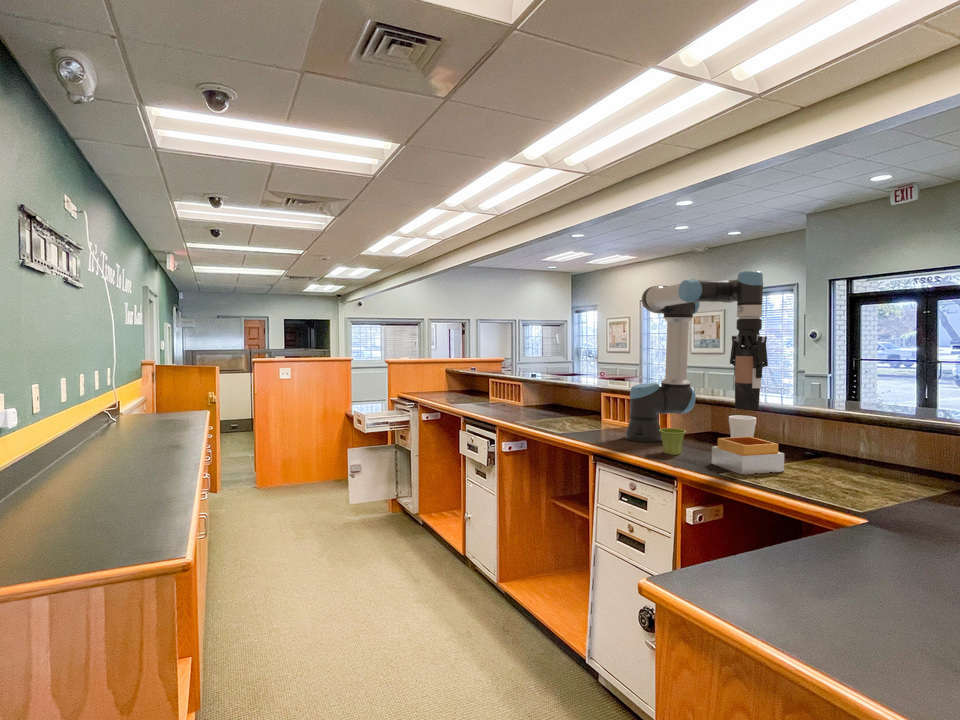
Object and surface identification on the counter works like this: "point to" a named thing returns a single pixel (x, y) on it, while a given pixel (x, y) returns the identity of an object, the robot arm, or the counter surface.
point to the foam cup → (742, 426)
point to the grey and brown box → (747, 455)
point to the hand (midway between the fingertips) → (747, 386)
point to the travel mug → (745, 381)
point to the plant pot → (672, 440)
